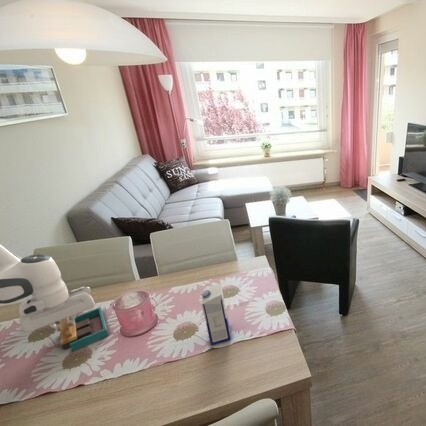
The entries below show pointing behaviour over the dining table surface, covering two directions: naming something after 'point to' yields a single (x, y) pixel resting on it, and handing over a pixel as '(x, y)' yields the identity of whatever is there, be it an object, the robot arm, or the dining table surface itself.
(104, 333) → the corral
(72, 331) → the brush
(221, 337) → the milk carton
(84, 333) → the chip
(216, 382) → the dining table surface
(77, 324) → the chip
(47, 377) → the dining table surface
